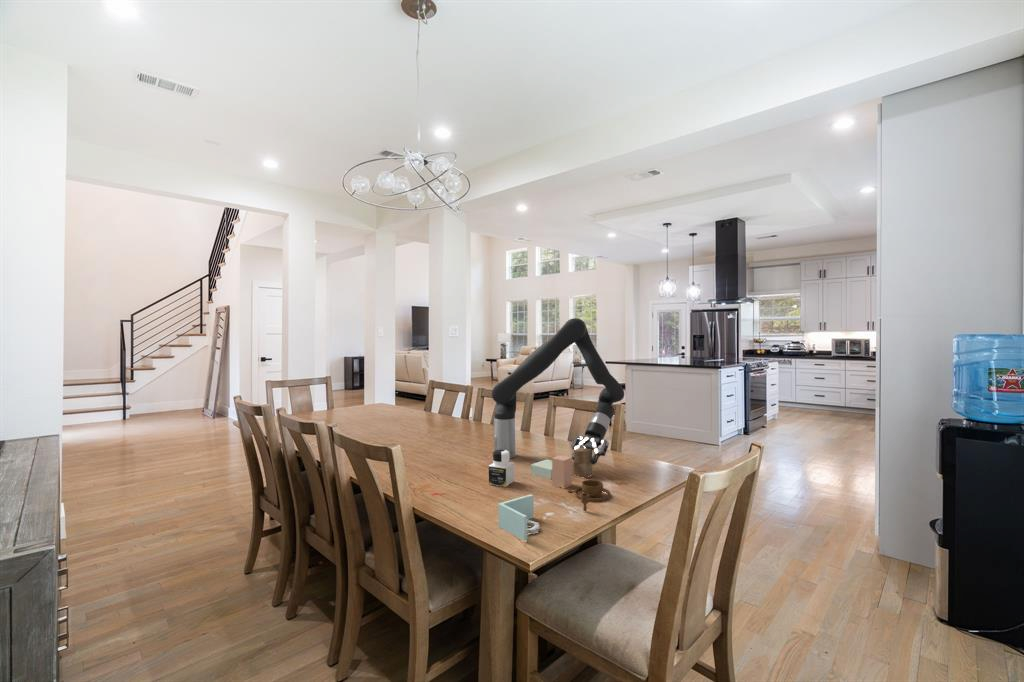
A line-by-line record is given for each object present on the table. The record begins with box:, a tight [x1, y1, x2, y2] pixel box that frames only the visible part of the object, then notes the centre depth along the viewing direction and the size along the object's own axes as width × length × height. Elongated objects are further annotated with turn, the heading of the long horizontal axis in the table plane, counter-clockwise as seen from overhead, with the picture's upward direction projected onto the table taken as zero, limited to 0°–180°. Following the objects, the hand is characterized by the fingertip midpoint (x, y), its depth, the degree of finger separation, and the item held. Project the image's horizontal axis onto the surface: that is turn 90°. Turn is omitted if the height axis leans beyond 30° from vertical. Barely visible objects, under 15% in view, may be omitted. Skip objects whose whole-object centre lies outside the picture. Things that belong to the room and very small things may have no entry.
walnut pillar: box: [573, 448, 593, 479], centre depth 178 cm, size 5×5×10 cm
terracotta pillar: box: [551, 454, 573, 489], centre depth 167 cm, size 5×5×10 cm
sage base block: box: [530, 459, 552, 480], centre depth 182 cm, size 10×10×4 cm
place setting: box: [567, 479, 611, 511], centre depth 154 cm, size 18×20×6 cm
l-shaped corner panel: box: [497, 494, 541, 541], centre depth 131 cm, size 12×12×8 cm
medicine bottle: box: [488, 450, 515, 488], centre depth 171 cm, size 7×7×12 cm
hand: (582, 461), depth 178 cm, fingers open, 8 cm apart
